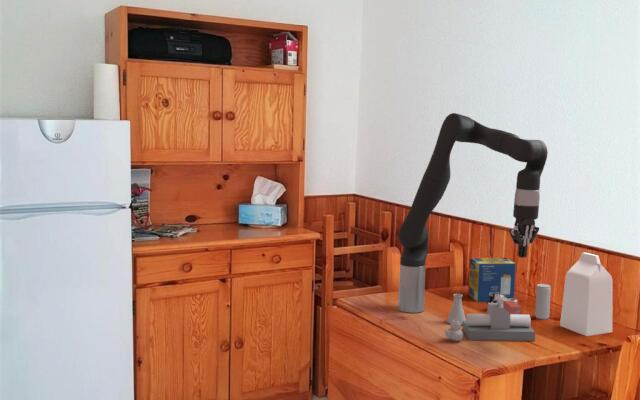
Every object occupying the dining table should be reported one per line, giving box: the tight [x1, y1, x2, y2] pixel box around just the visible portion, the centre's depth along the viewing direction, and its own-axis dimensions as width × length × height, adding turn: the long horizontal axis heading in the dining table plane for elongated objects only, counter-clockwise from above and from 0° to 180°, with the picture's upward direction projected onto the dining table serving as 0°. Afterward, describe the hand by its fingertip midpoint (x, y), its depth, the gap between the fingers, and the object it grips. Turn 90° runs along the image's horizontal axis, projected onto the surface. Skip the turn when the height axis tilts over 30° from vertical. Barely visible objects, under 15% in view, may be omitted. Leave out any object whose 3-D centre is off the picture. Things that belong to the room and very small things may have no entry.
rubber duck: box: [444, 317, 464, 342], centre depth 209 cm, size 5×7×8 cm
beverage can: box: [534, 283, 552, 321], centre depth 234 cm, size 5×5×12 cm
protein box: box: [468, 257, 517, 303], centre depth 260 cm, size 10×15×16 cm
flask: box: [446, 293, 467, 326], centre depth 228 cm, size 7×7×10 cm
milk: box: [559, 252, 614, 337], centre depth 221 cm, size 12×12×26 cm
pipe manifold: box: [462, 301, 536, 342], centre depth 215 cm, size 21×11×11 cm, turn 89°
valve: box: [485, 293, 519, 305], centre depth 239 cm, size 7×7×12 cm
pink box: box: [495, 294, 523, 314], centre depth 207 cm, size 16×3×2 cm, turn 4°
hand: (522, 257), depth 208 cm, fingers closed
